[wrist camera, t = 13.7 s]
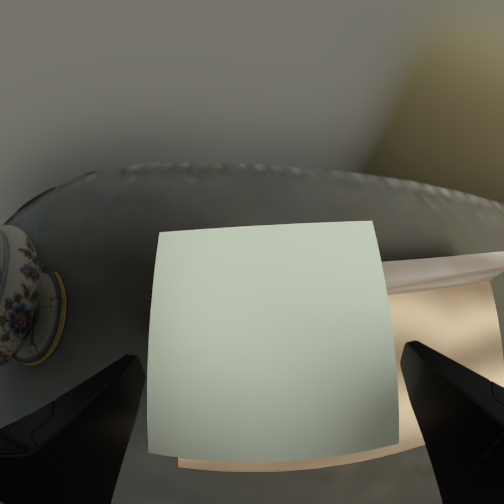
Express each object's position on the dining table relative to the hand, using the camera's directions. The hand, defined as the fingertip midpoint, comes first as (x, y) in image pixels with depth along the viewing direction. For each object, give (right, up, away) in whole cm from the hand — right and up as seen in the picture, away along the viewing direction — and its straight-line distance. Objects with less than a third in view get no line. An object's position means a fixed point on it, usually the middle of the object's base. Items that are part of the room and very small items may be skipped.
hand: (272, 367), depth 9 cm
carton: (+1, -3, +8) cm, 8 cm away
